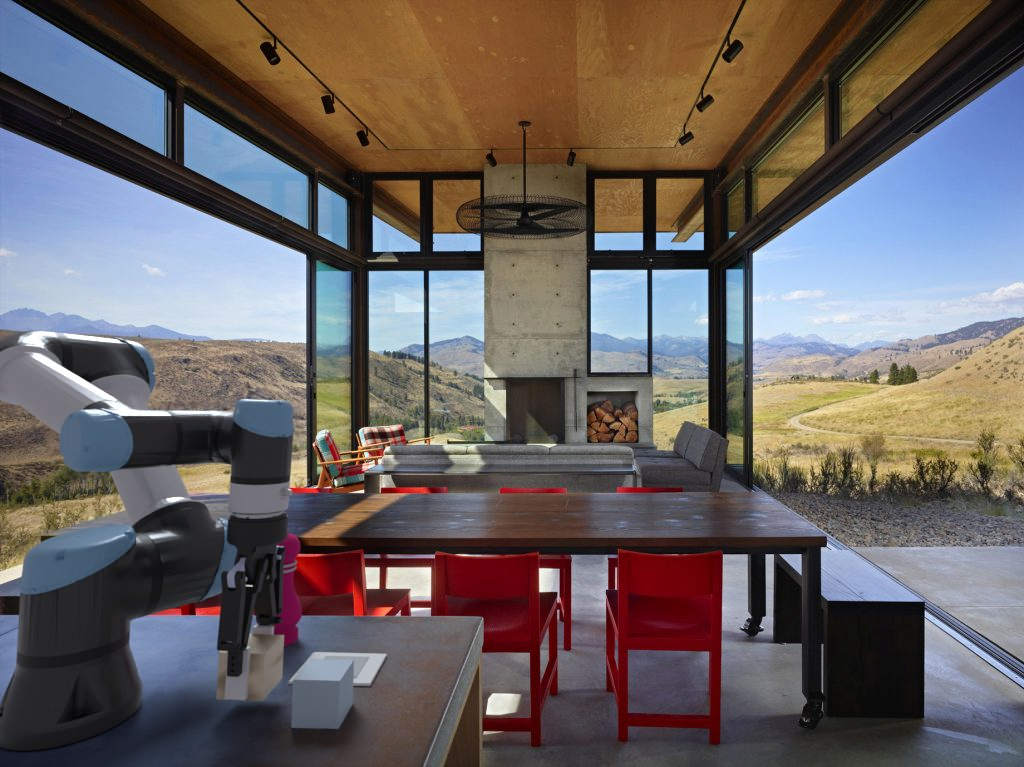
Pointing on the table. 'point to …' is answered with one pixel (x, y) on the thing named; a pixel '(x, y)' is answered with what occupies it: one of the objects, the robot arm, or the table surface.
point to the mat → (363, 665)
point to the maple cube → (257, 666)
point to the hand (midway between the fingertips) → (249, 684)
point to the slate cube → (322, 694)
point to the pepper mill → (289, 593)
